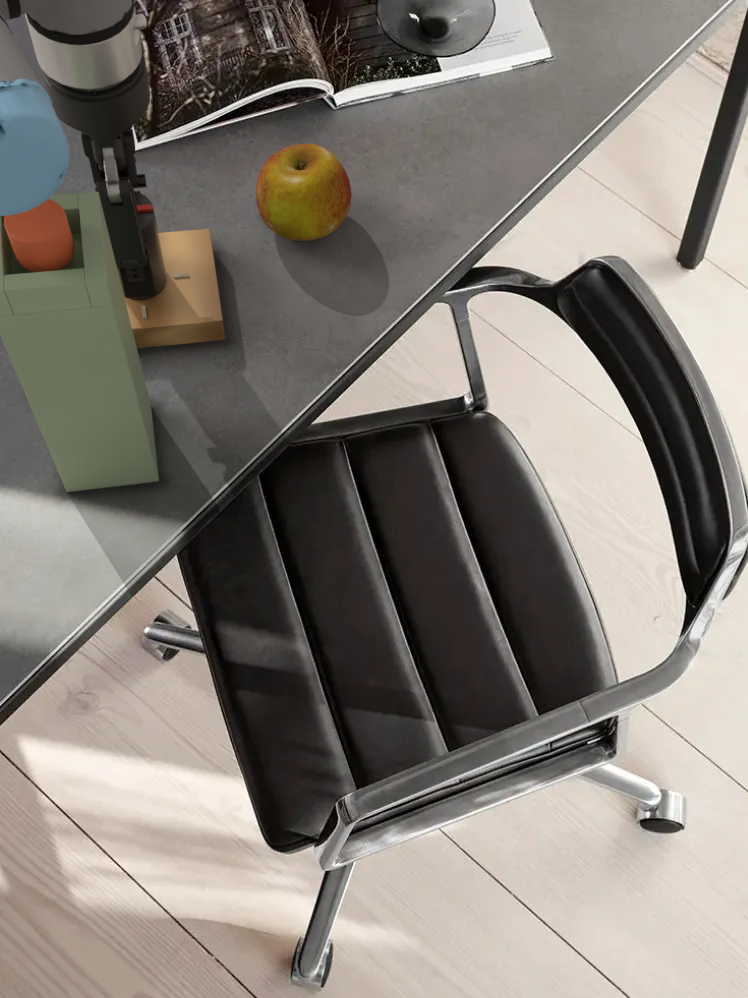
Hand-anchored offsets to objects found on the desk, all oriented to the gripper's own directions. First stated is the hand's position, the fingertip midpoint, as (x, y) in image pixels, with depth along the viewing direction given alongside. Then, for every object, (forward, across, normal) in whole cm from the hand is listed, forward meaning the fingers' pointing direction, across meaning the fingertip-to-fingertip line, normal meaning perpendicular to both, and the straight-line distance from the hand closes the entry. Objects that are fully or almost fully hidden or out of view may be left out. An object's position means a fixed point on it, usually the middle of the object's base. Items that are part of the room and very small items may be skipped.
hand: (138, 269), depth 104 cm
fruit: (+5, +8, -16) cm, 19 cm away
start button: (-21, -16, +4) cm, 27 cm away
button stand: (+5, -16, +4) cm, 17 cm away
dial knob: (+1, 0, 0) cm, 1 cm away
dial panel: (+5, 0, 0) cm, 5 cm away
